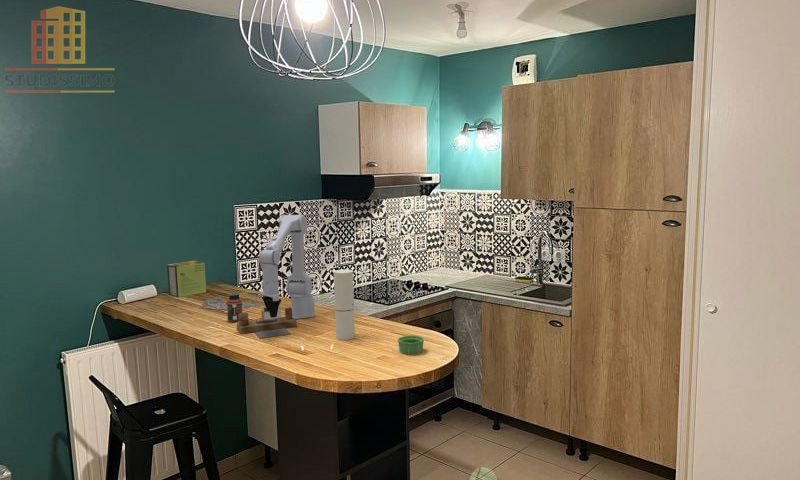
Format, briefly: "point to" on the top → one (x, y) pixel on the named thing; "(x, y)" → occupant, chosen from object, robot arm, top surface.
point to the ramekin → (411, 344)
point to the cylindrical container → (344, 304)
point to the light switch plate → (267, 314)
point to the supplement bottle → (234, 307)
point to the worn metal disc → (218, 304)
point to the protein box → (186, 278)
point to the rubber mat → (272, 333)
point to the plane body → (265, 323)
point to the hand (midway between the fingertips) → (272, 315)
